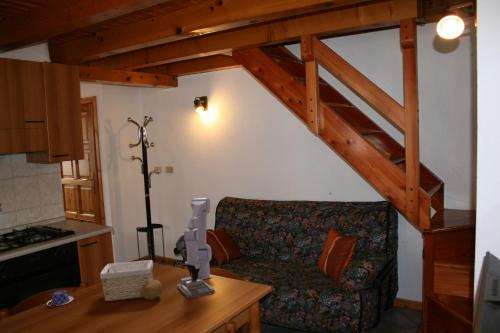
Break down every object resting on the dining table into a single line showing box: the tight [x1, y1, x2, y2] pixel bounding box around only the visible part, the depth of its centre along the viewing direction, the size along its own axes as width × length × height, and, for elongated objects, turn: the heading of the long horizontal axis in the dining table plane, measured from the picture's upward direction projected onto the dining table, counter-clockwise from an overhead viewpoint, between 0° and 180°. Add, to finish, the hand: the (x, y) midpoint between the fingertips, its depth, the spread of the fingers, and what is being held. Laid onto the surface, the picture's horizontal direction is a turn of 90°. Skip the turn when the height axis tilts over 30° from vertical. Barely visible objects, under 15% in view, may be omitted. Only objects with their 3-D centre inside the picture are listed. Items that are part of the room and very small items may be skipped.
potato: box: [141, 279, 163, 301], centre depth 195 cm, size 10×14×8 cm
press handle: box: [186, 273, 204, 288], centre depth 203 cm, size 3×8×8 cm, turn 116°
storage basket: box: [99, 259, 154, 302], centre depth 202 cm, size 24×16×15 cm
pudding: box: [46, 289, 74, 307], centre depth 197 cm, size 12×12×5 cm
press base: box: [176, 275, 216, 300], centre depth 203 cm, size 18×14×4 cm
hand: (194, 278), depth 204 cm, fingers closed on press handle, 3 cm apart
